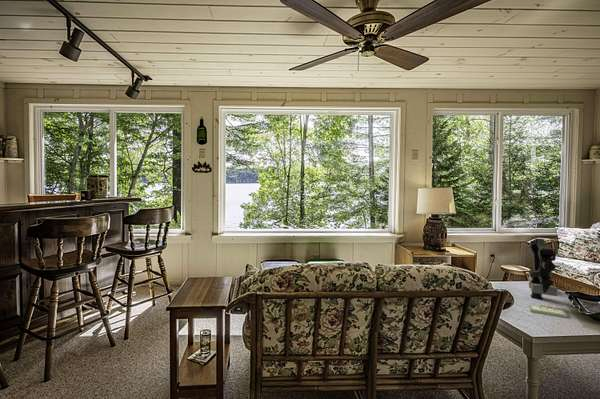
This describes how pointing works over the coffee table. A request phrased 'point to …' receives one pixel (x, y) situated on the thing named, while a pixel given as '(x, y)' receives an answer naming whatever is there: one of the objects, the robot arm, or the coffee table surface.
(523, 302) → the coffee table surface
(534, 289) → the panel
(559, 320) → the coffee table surface
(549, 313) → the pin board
